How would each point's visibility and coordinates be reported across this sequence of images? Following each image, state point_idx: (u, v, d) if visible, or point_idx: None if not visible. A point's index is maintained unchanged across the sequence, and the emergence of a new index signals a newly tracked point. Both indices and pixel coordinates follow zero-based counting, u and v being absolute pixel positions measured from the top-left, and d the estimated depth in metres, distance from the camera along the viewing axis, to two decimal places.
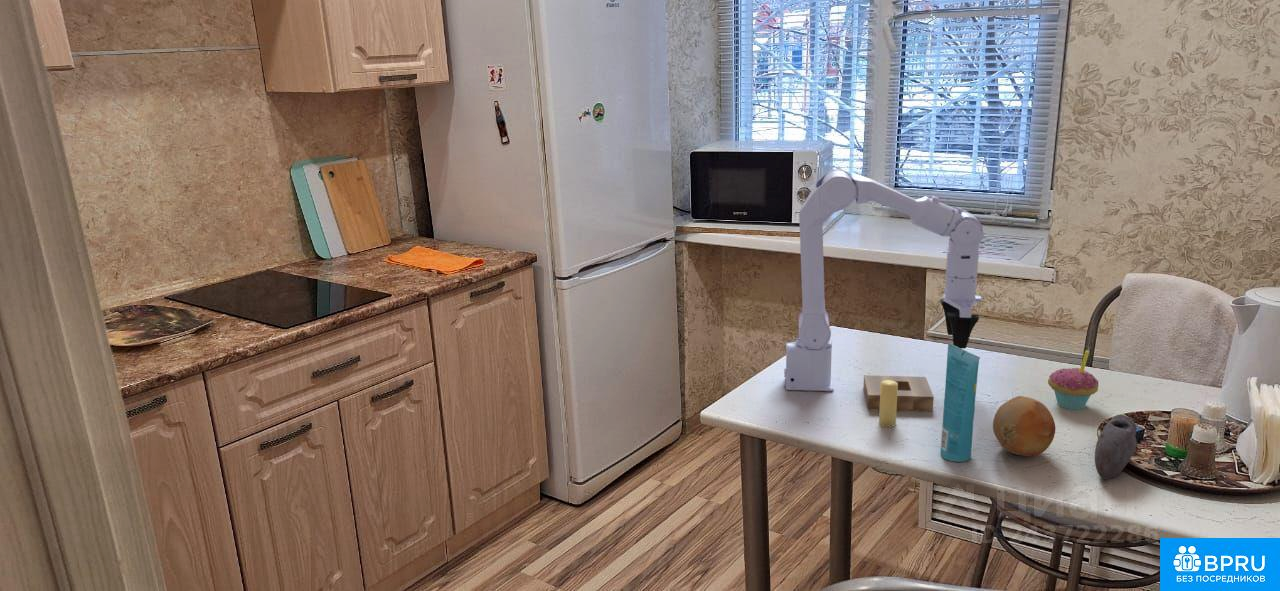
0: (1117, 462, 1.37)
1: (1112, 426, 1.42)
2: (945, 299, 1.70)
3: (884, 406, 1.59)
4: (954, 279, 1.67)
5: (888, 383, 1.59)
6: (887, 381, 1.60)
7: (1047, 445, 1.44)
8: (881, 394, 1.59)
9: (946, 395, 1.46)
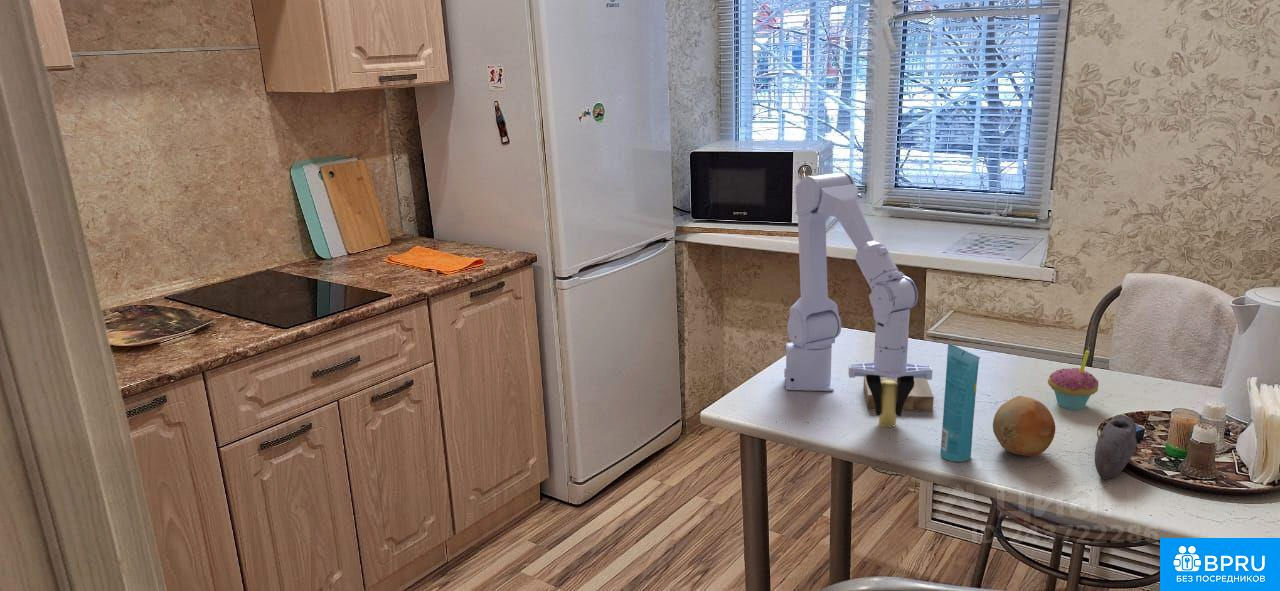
0: (1117, 462, 1.37)
1: (1112, 426, 1.42)
2: None
3: (884, 406, 1.59)
4: None
5: (888, 383, 1.59)
6: (887, 381, 1.60)
7: (1047, 445, 1.44)
8: (881, 394, 1.59)
9: (946, 395, 1.46)
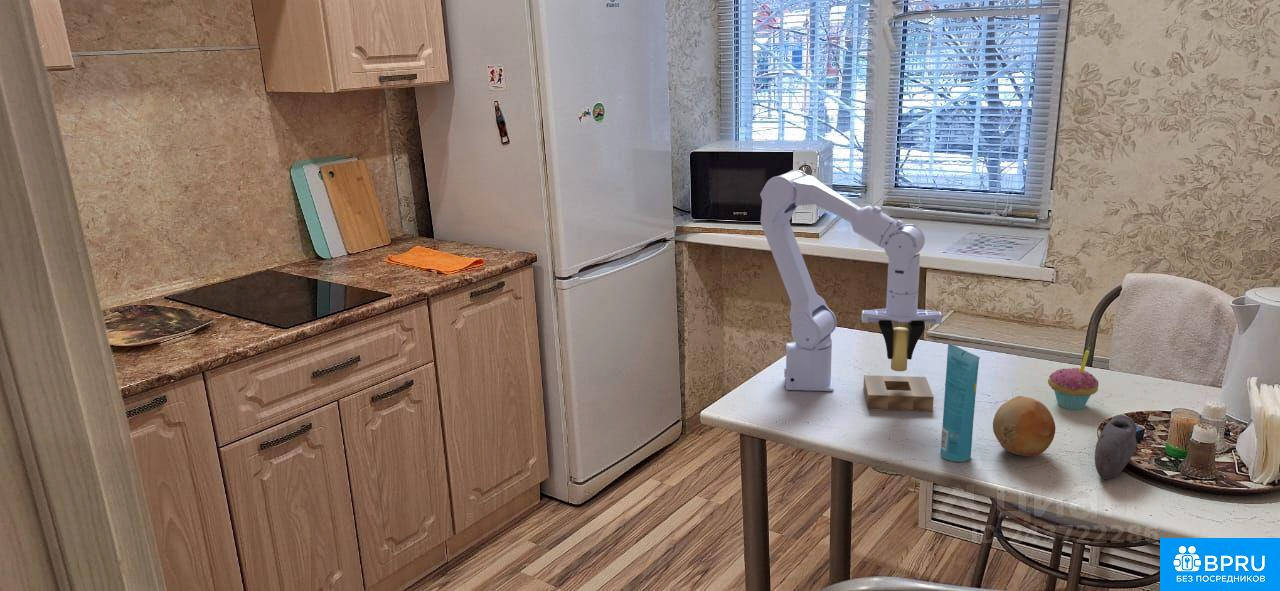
0: (1117, 462, 1.37)
1: (1112, 426, 1.42)
2: None
3: (895, 351, 1.67)
4: None
5: (900, 330, 1.67)
6: (899, 328, 1.68)
7: (1047, 445, 1.44)
8: (893, 340, 1.67)
9: (946, 395, 1.46)
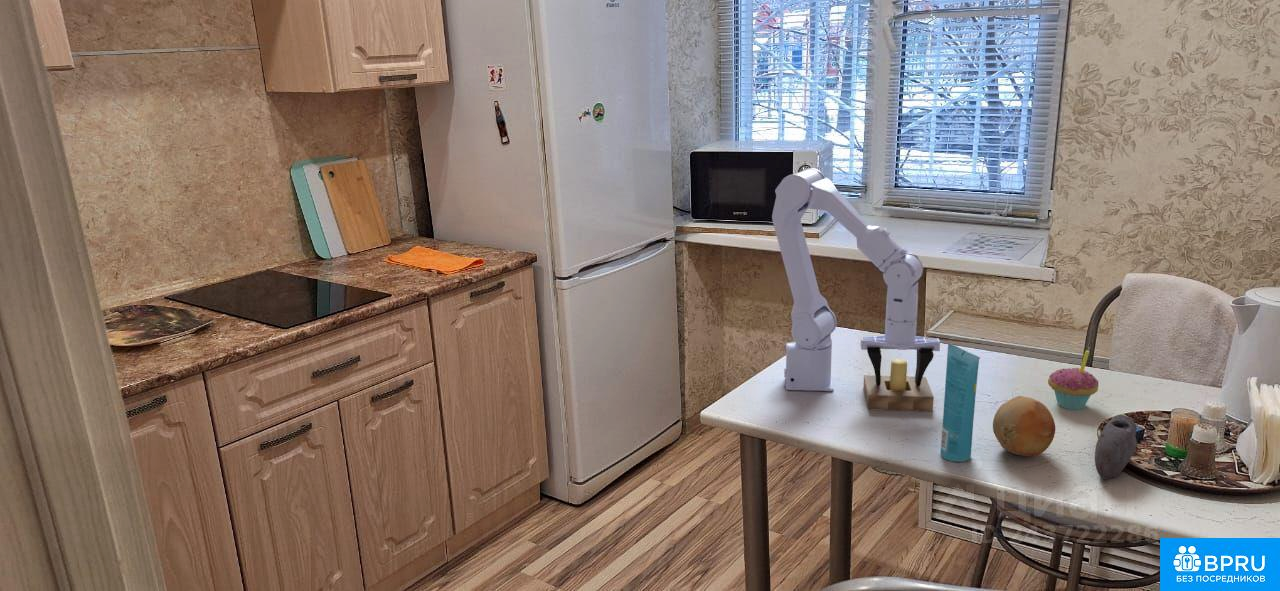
0: (1117, 462, 1.37)
1: (1112, 426, 1.42)
2: None
3: (893, 384, 1.69)
4: None
5: (898, 362, 1.69)
6: (897, 360, 1.70)
7: (1047, 445, 1.44)
8: (891, 372, 1.69)
9: (946, 395, 1.46)
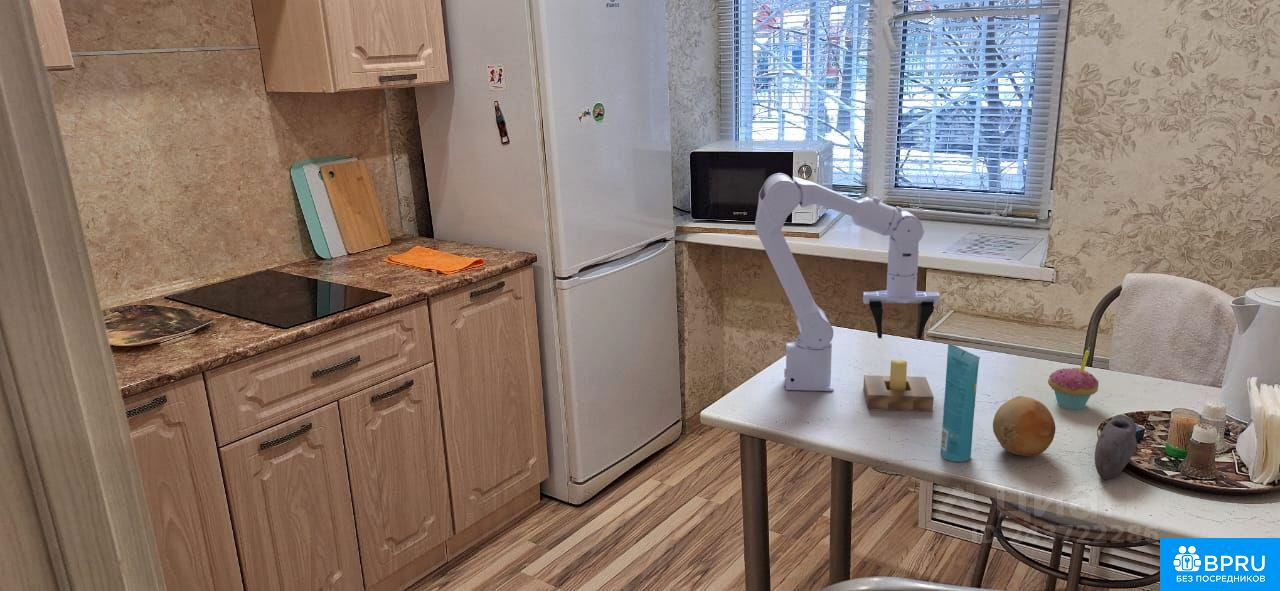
0: (1117, 462, 1.37)
1: (1112, 426, 1.42)
2: None
3: (893, 383, 1.69)
4: None
5: (898, 362, 1.69)
6: (897, 360, 1.70)
7: (1047, 445, 1.44)
8: (891, 372, 1.69)
9: (946, 395, 1.46)
